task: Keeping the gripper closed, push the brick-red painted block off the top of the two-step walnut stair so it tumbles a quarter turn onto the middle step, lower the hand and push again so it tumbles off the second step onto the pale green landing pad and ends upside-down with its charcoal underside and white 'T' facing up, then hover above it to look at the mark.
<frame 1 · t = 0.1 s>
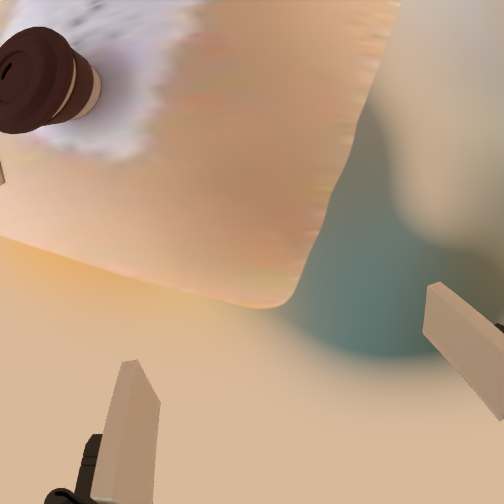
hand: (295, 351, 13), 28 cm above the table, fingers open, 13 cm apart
coffee cup: (76, 91, 31), on the table
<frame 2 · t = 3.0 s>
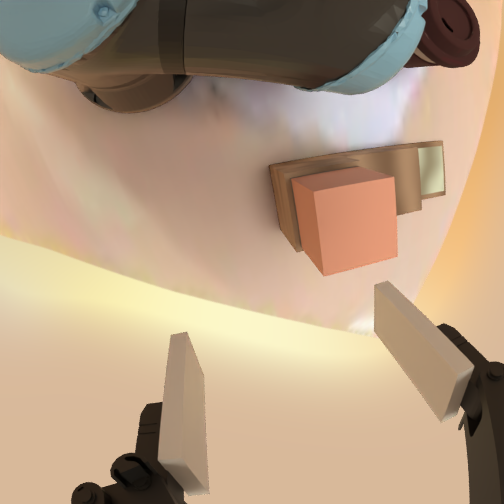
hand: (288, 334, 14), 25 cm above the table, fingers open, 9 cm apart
block: (329, 206, 31), point 8 cm above the table, touching stair
stair: (274, 198, 38), on the table
coffee cup: (382, 43, 32), on the table
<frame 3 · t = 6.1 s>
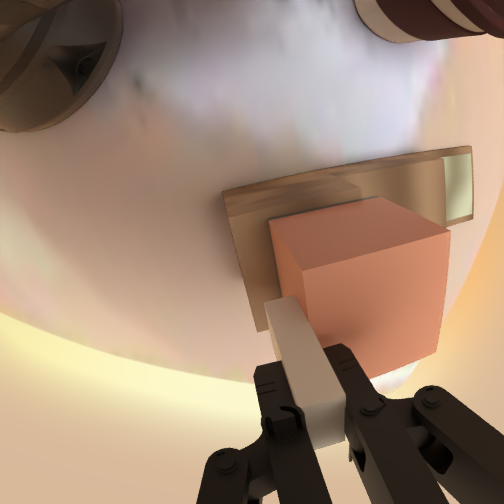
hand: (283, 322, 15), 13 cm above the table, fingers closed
block: (331, 260, 20), point 8 cm above the table, touching gripper
stair: (233, 238, 27), on the table
coffee cup: (387, 10, 21), on the table
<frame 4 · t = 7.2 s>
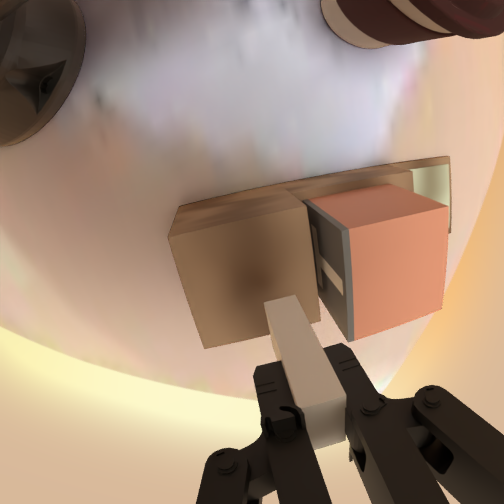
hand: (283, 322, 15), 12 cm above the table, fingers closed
block: (324, 266, 20), point 8 cm above the table, tilted 90°, touching stair
stair: (191, 252, 26), on the table
coffee cup: (357, 14, 21), on the table
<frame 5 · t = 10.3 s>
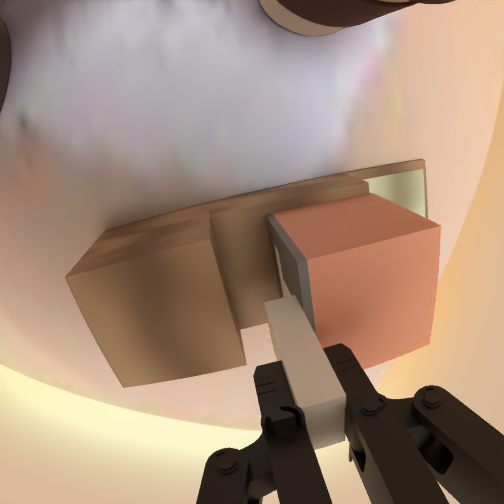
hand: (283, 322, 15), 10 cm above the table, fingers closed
block: (288, 295, 17), point 8 cm above the table, tilted 90°, touching stair
stair: (122, 278, 23), on the table
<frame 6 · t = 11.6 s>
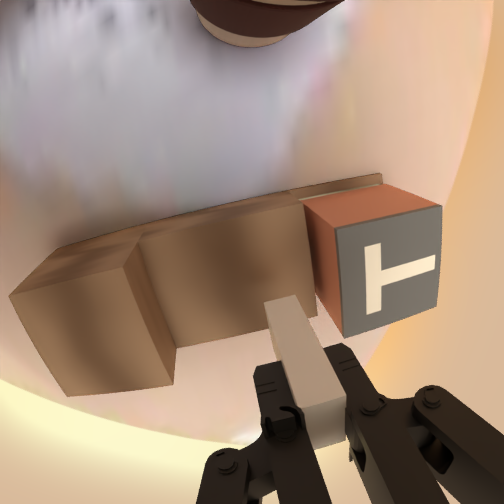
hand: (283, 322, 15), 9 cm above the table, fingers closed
block: (395, 274, 17), point 7 cm above the table, tilted 180°, touching stair
stair: (75, 293, 23), on the table
coffee cup: (248, 6, 17), on the table
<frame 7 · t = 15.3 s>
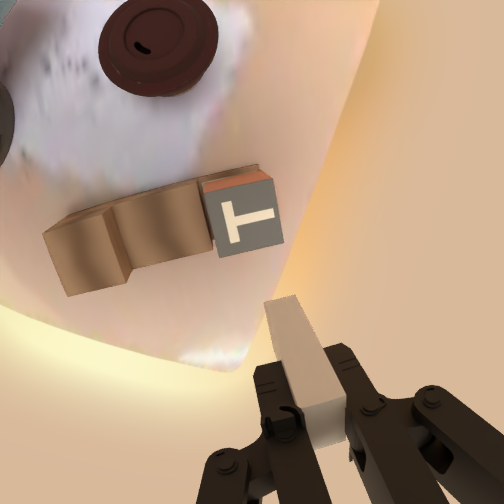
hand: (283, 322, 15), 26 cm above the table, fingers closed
block: (245, 219, 33), point 7 cm above the table, tilted 180°, touching stair
stair: (77, 243, 38), on the table
coffee cup: (173, 68, 33), on the table
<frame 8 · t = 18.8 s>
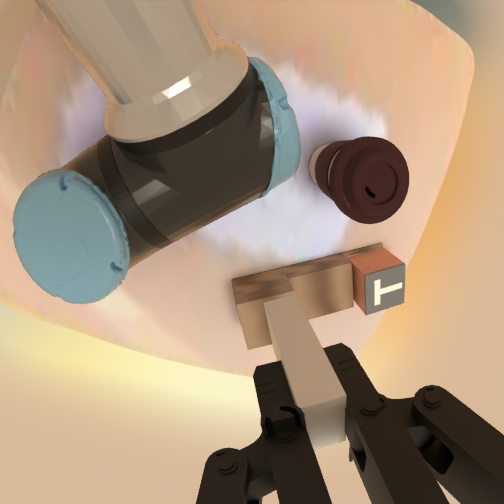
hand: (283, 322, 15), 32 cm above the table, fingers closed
block: (385, 290, 46), point 7 cm above the table, tilted 180°, touching stair
stair: (237, 301, 51), on the table
coffee cup: (330, 166, 46), on the table
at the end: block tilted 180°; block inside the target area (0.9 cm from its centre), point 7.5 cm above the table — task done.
